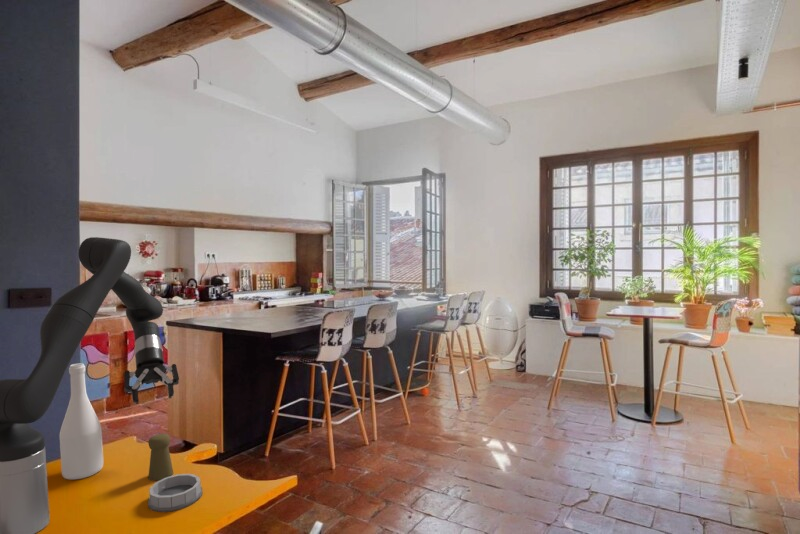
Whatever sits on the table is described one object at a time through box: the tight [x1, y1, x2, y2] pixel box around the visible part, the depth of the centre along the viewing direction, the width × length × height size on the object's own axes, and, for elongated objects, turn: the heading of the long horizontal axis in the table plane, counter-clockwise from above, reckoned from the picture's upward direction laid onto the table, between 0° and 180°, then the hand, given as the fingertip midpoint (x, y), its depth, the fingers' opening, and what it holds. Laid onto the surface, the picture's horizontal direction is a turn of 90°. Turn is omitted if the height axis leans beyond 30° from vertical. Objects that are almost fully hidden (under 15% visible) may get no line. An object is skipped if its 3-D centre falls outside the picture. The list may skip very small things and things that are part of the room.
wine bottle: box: [59, 363, 104, 481], centre depth 129 cm, size 10×10×30 cm
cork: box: [147, 433, 174, 482], centre depth 127 cm, size 6×6×11 cm
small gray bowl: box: [147, 473, 203, 513], centre depth 116 cm, size 12×12×3 cm
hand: (154, 399), depth 137 cm, fingers open, 8 cm apart
